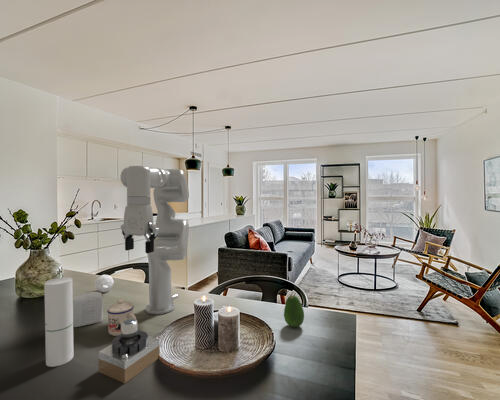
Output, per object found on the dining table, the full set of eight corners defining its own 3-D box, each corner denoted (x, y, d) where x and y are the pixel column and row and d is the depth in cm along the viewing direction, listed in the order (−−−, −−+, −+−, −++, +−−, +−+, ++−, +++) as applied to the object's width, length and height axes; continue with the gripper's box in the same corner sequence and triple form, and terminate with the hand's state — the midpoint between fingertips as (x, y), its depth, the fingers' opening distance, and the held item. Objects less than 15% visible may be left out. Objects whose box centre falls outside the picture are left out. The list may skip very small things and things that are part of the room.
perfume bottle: (91, 286, 145) (92, 296, 135) (97, 270, 146) (98, 279, 136) (109, 288, 150) (111, 298, 140) (114, 272, 150) (117, 281, 140)
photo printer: (102, 317, 114) (102, 288, 113) (103, 322, 110) (103, 291, 110) (73, 324, 108) (72, 293, 108) (73, 329, 104) (72, 297, 104)
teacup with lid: (102, 333, 101) (101, 302, 101) (122, 322, 109) (122, 294, 109) (125, 340, 96) (124, 308, 96) (144, 328, 104) (144, 299, 104)
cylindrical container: (69, 350, 90) (67, 275, 90) (77, 358, 86) (75, 280, 85) (42, 360, 85) (41, 281, 84) (49, 369, 80) (48, 286, 80)
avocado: (285, 320, 112) (285, 291, 111) (305, 323, 109) (305, 293, 109) (282, 329, 104) (282, 299, 104) (302, 333, 102) (302, 301, 101)
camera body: (135, 348, 91) (134, 325, 91) (159, 357, 86) (159, 333, 86) (98, 371, 79) (98, 345, 79) (124, 383, 75) (124, 355, 74)
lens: (130, 339, 86) (130, 317, 86) (141, 342, 84) (140, 319, 84) (118, 347, 82) (117, 323, 81) (129, 350, 80) (128, 326, 80)
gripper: (112, 201, 94) (112, 250, 94) (148, 202, 86) (149, 256, 87) (130, 201, 101) (130, 246, 101) (165, 202, 93) (166, 251, 94)
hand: (139, 251), depth 94 cm, fingers open, 9 cm apart
